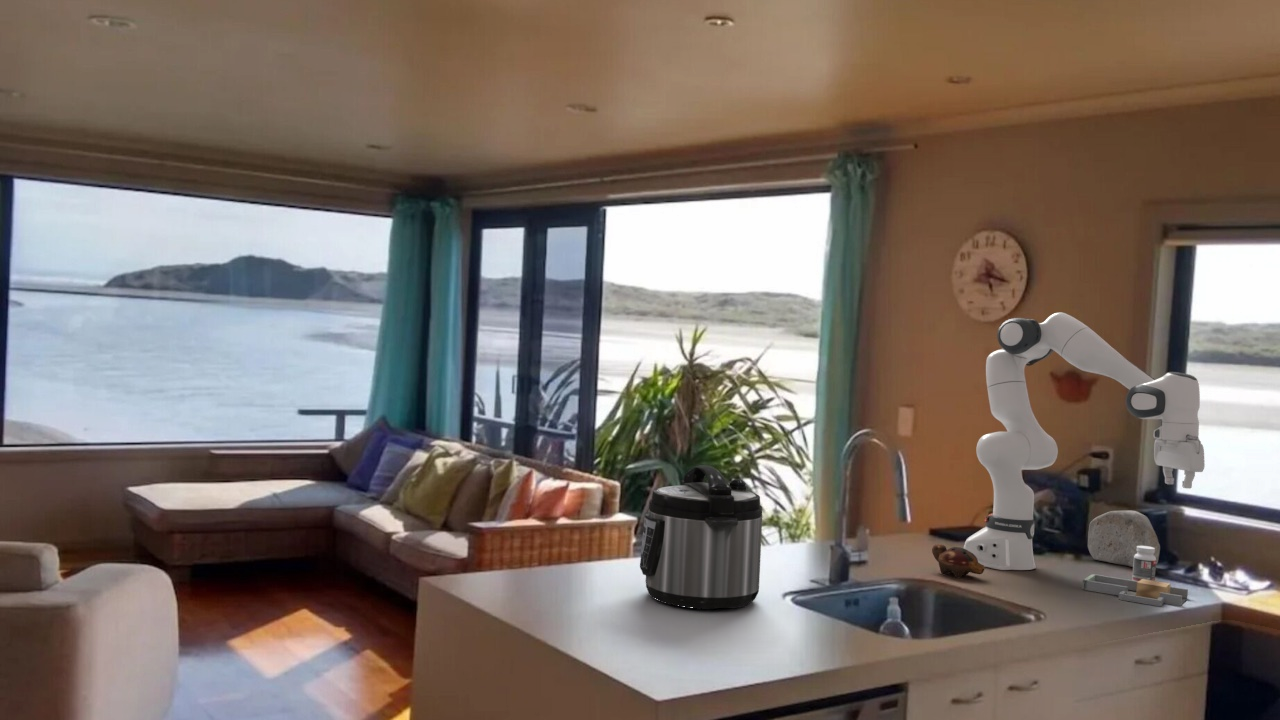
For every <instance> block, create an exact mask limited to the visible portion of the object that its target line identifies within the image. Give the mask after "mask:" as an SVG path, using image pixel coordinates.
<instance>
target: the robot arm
mask: <svg viewBox="0 0 1280 720" xmlns="http://www.w3.org/2000/svg"><path fill="white" fill-rule="evenodd" d="M997 342H998V345H1000V347H1001V349H997V350H994V351H992V352H991V353H990V354H989V355H988V356H987V357H986V361H985V379H986V380H985V381H986V387H987V388H986V389H987V396H988V401H989V408H990V413H991V415H992V416H993V417H994V419H996V420H997V421H999V422H1000V423H1001V424H1002V426H1004V428H1005V429H1006V431H995V432H989V433H987V434H984V435H982V436H981V437H980V438H979V439H978V441H977V444H976V449H975V450H976V452H975V453H976V457H977V459H978V461H979V463H980V464H981V465H982V466H983V467H984V468H985V469H986V470H987V472H988V473H989V476H990V479H991V482H992V487H993V506H992V507H993V508H992V509H993V510H992V513H990V514H988V515H987V516H986V517H985V518H984V522H985V526H984V527H983V528H981V529H980V530H978V531H976V532H975V533H973V534H972V535H970V536H969V537H967V538H966V540H965V542H964V545H963V548H964V549H966V550H968V551H970V552H972V553H973V554H974V555H975V556H976V557H977V559H978V563H980V564H982V565H984V567H985V568H989V569H990V568H991V569H995V570H1000V571H1011V570H1012V571H1029V570H1034V569H1036V568H1037V567H1036V564H1035V559H1034V551H1033V549H1034V548H1033V538H1034V535H1035V519H1034V506H1035V493H1034V492H1035V491H1034V490H1033V489H1032V488H1031V487H1030V486H1029V485H1028V484H1027V483H1025V481H1024V479H1023V473H1022V471H1024V470H1027V471H1028V470H1030V471H1032V470H1033V471H1034V470H1037V471H1038V470H1041V469H1044V468H1048V467H1051V466H1052V465H1053V464H1054V463H1056V460H1057V458H1058V454H1059V449H1058V444H1057V442H1056V441H1055V439H1054V438H1053V437H1052V436H1051V435H1049V434H1048V433H1047V432H1046V431H1045V430H1044V428H1043V427H1041V425H1040V424H1039V421H1038V420H1037V418H1036V417H1035V414H1034V412H1033V409H1032V406H1031V402H1030V398H1029V392H1028V387H1027V381H1026V375H1025V368H1026V366H1027V367H1028V366H1029V367H1030V366H1032V365H1034V364H1036V363H1037V362H1040V361H1042V360H1044V359H1046V358H1048V357H1049V356H1050V355H1051V354H1053V351H1054V352H1055V353H1056V354H1058V355H1059V356H1060V357H1061V358H1063V359H1064V360H1065V362H1067V363H1069V364H1070V365H1072V366H1074V367H1075V368H1076V369H1079V370H1080V371H1083V372H1087V373H1092V374H1097V375H1102V376H1104V377H1108V378H1111V379H1113V380H1115V381H1117V382H1118V383H1119V384H1121V385H1122V386H1123V387H1125V388H1127V389H1128V392H1127V393H1126V396H1125V407H1126V409H1127V411H1128V412H1129V413H1130V415H1132V416H1133V417H1135V418H1137V419H1141V420H1159V421H1161V425H1160V426H1159V427H1158V428H1156V429H1154V430H1153V435H1152V436H1153V439H1155V440H1154V444H1153V449H1154V450H1153V458H1154V460H1153V461H1154V463H1155V465H1156V466H1160V467H1162V473H1163V476H1164V483H1165V484H1167V485H1174V484H1175V478H1174V477H1173V476H1174V475H1173V471H1174V469H1175V470H1180V471H1184V475H1185V476H1184V480H1182V488H1183V489H1191V488H1192V487H1193V485H1192V484H1193V481H1194V479H1195V477H1196V473H1203V472H1204V470H1205V465H1206V464H1205V450H1204V446H1203V444H1202V441H1201V440H1200V438H1199V434H1200V433H1199V431H1200V430H1199V429H1200V428H1199V427H1200V420H1199V417H1198V416H1199V415H1198V414H1199V410H1200V406H1201V405H1200V403H1201V402H1200V399H1201V398H1200V397H1201V396H1200V393H1201V392H1200V384H1199V380H1198V378H1196V377H1195V375H1192V374H1189V373H1183V372H1178V371H1169V372H1166V373H1165V374H1164V375H1163V376H1161V377H1159V378H1156V379H1155V378H1154V377H1152V376H1150V374H1149V373H1147V372H1145V371H1144V370H1142V369H1141V368H1140V367H1138V366H1137V365H1136V364H1134V363H1133V362H1132V361H1130V360H1128V359H1127V358H1126V357H1125V356H1123V355H1122V354H1120V352H1118V351H1117V349H1115V348H1113V346H1111V345H1110V344H1109V343H1108V342H1107V341H1105V340H1104V338H1103V337H1101V336H1100V335H1098V334H1097V332H1095V331H1094V330H1093V329H1091V328H1090V327H1089V326H1088V325H1086V324H1084V323H1083V322H1082V321H1080V320H1079V319H1077V318H1075V317H1074V316H1072V315H1070V314H1068V313H1065V312H1061V311H1060V312H1055V313H1052V314H1051V315H1049V316H1048V317H1047V318H1046V319H1045V320H1044V321H1043V322H1038V320H1036V319H1030V318H1023V317H1013V318H1008V319H1007V320H1005V321H1003V323H1001V324H1000V325H999V327H998V330H997Z"/></svg>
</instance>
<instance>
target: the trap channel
mask: <svg viewBox="0 0 1280 720" xmlns="http://www.w3.org/2000/svg"><path fill="white" fill-rule="evenodd" d="M1137 582H1138V581H1134V580H1132V579H1127V578H1122V577H1121V578H1120V577H1115V576H1109V575H1108V576H1107V575H1102V574H1097V573H1092V574H1090V575H1089V576H1087V577H1085V578H1084V579H1083V580H1082V590H1084V591H1088V592H1089V591H1090V592H1094V593H1096V592H1097V593H1101V594H1108V595H1113V596H1118V600H1119V599H1120V601H1126V602H1133V603H1136V604H1137V603H1138V604H1144V605H1150V606H1156V607H1161V606H1163V605H1164V604H1166V605H1173V606H1178V607H1181V606H1183V604H1184V603H1185V602H1187V600H1188V595H1189V594H1188V593H1189V589H1188V588H1183V587H1176V586H1171V585H1170V594H1169V593H1162V592H1160V597H1159V598H1158V599H1152V598H1146V597H1140V596H1136V595H1133V594H1128V590H1129V591H1133V592H1136V591H1137Z"/></svg>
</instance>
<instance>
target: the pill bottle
mask: <svg viewBox="0 0 1280 720" xmlns="http://www.w3.org/2000/svg"><path fill="white" fill-rule="evenodd" d="M1136 550H1137V554H1135V555H1134V563H1133V567H1132V576H1131V577H1132V579H1131V580H1134V581H1140V580H1141V579H1146V580H1152V581H1156V567H1157V566H1156V565H1157V564H1156V557H1155V556H1154V553H1155V548H1153V547H1149V546H1137V549H1136Z"/></svg>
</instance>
